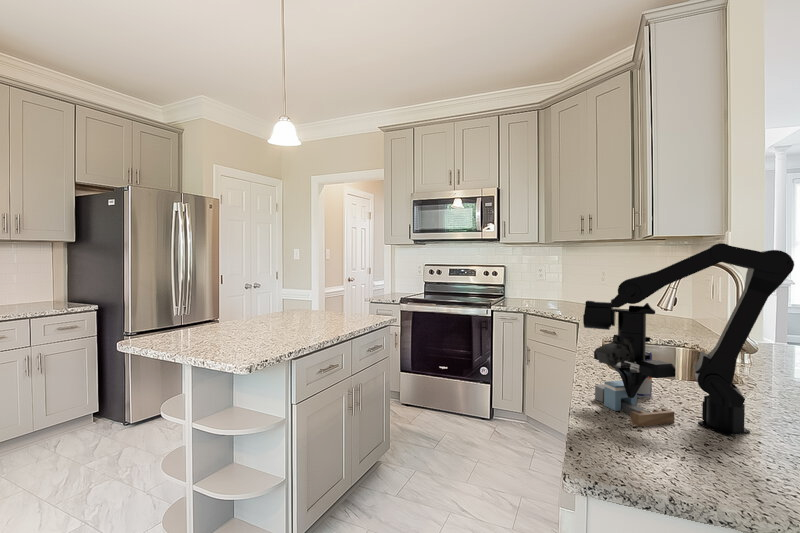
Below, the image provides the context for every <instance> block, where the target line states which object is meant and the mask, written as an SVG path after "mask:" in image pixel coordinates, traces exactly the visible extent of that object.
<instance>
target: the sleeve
mask: <svg viewBox="0 0 800 533" xmlns="http://www.w3.org/2000/svg"><path fill="white" fill-rule="evenodd" d="M603 385H604V402H603V404H604V405H603V406H604V407H606V408H609V409H610V410H612V411H615V412H617V411H618V412H619V411H622V410H621V400H624V401H626V402H628V403H630V404H633V405H635V406H637V407H638V398H637V393H636V395H635V397H634V398H629V397H628V395H627V392H626V390H625V387H624V384H623V381H622V380H612V381H604V382H603Z"/></svg>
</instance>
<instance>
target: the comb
mask: <svg viewBox="0 0 800 533" xmlns="http://www.w3.org/2000/svg"><path fill="white" fill-rule="evenodd" d="M652 410H653V411H649V413H647V412H645V411H643V410H640V411H639V413H637V412H635V411H630V414H629V416H630V417H629V420H630V422H629V423H631V424H633V425H636V426H637V427H648V426H656V425H665V424H674V423H675V411H673V410H671V409H668V408H666V407H663V408H661V409H659V408H653V409H652Z"/></svg>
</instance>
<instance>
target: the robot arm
mask: <svg viewBox="0 0 800 533" xmlns="http://www.w3.org/2000/svg"><path fill="white" fill-rule="evenodd" d="M720 263H723V264H728V265H732V266H736V267H740V268H743V269H747V270H746V275H745V281H744V288H743V290H742V293H741V295H740V297H739V299H738V301H737V302H736V305H735V306H734V309H733V311H732V312H731V315H730V317H729V318H728V320H727V323H726V325H725V326H724V328H723V330H722V332H721V335H719V336H720V337H719V338H718V341H717V343H716V345H715V346H714V347H713V349H712V350H711V351H709V353H707V352H704V351H703V350H701V351H700V353H699V357H698V360H697V361H696V363H695V364H694V365H692V366H693V369H694V377H695V380H696V383H697V384H698V386H699V389H701V391H703V392H705V393H706V395H703V401H702V403H701V404H702V406H701V407H702V411H701V412H702V414H701V419H702V420H701V421H700V420H699V421H697V424H698V425H700V426H701V427H705V428H707V429H709V430H712V431H714V432H716V433H718V434H721V435H724V436H728V437H730V436H738V435H744V434H745V435H747V434H751V430H750V429H748V428H745V413H746V412H745V410H746V409H745V408H746V404H745V402H746V398H745V396H744V395H743V394H742V392H741V391H740V388H739V387H738V386H737V385H736V384H734V383H733V381H734V379H735V374H736V368H737V366H736V365H737V359H738V357H739V355H740V353H741V350H742V349H743V347H744V345H745V343H746V341H747V339H748V337H749V336H750V334H751V331H752V329H753V328H754V326H755V324H756V321H757V320H758V318H759V316H760V314H761V312H762V310H763V308H764V307H765V304H766V302H767V301H768V298H769V297H770V296H771V295H772V294H773V293H774V292H775V291H777V289H778V288H779V287H780V286H781V285H782V284H783V283H784V282H785V281H786V279H788V277H789V275H790V274H791V273H792V272H793V270H794V267H795V261H794V259H793V258H792V256H791V255H789V254H788V253H787V252H786V251H783V250H777V249H771V250H762V251H759V250H753V249H748V248H743V247H739V246H732V245H729V244H727V243H723V242H719V243H716V244H713V245H711V246H709V247H708V248H706V249H704V250H702V251H700V252H698V253H695V254H692V255H691V256H689V257H686V258H684V259H682V260H679V261H677V262H675V263H672V264H670V265H668V266H665V267H664V268H661V269H659V270H656V271H654V272H650V273H644V274H642V275H638V276H634V277H630V278H628V279H625V280H624V281H621V283H620V284H619V285H618V287H617V295H616V296H615V297H614V298H613V297H612V298H611V299H610V302H609V301H608V302H607V301H606V302H605V301H604V302H603V301H595V300H586V301H585V302H584V303H585V307H584V312H583V313H584V314H582V315H583V317H582V319H583V321H582V323H583V328H584V329H594V330H595V329H596V330H605V331H606V330H608V331H610V329H611V327H615V326H616V313H617V315H618V316H617V334H613V336H612V341H611V342H608V343H605V344H603V345H602V346H601V345H600V346H599V347H597V348H595V349H594V351H593V359H594V360H597V361H598V363H600V364H605V365H607V366H609V367H611V368H612V369H614V370H615V371H616V372H617V373H618V374H619V376H620V379H621V381H623V384H624V387H625V390H626V392H627V395H628V397H629V398H634V397H635V395H636V393H637V392H638V390H639V388H640V386H641V385H642V383H643V382H644V380H645V379H646V378H647V376H648V377H651V378H652V379H662V378H663V379H664V378H675V377H676V375H677V374H676V371H677V370H676V367H675V365H674V364H673V363H672V362H668V361H664V360H660V359H656V360H653V359H652V360H651V361H645V360H647V359H650V355H648V354H646V350H647V348H646V345H647V344H646V343H651V337H650V336H647V315H655V314H656V309H654V308H652V307H651V305H650V304H649V303H648V302H646V303H645V304H644V305H635V304H638V303H641V302H643V301H644V300H646V299H648V297H650V296H652V295H654V294H655V293H656V292H658V291H660V290H661V289H662V288H664V287H665V286H668V285H670V284H673V283H675V282H677V281H679V280H682V279H685V278H687V277H689V276H691V275H693V274H694V275H695V274H696V273H698V272H701V271H703V270H705V269H708V268H710V267H713V266H715V265H718V264H720ZM627 304H629V306H628V308H622V307H623V306H625V305H627ZM635 362H637V363H635ZM707 394H708V395H707Z"/></svg>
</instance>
